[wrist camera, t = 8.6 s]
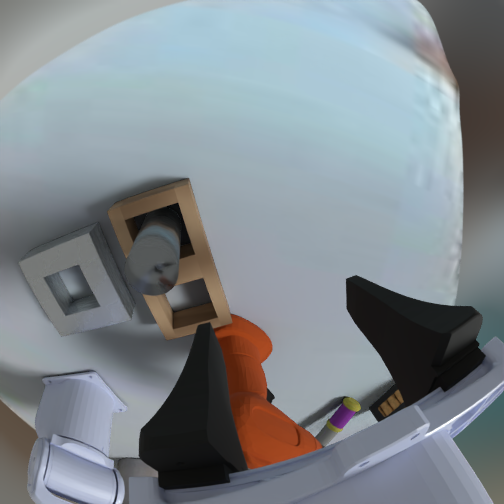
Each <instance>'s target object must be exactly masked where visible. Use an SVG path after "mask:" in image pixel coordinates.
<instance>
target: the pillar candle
mask: <svg viewBox="0 0 504 504" xmlns="http://www.w3.org/2000/svg"><path fill="white" fill-rule="evenodd" d="M117 470H118V471H119V472H120V474H121V476H122V478H123V481H124V487H125V494H124V499H123V503H122V504H129V477H157V478H158V471H156V470H155V469H153V468H151V467H150V466H148V465H147V464H145V463H144V462H143V461H142V460H141V459H134V458H124V459H121V460H119V461H118V469H117Z"/></svg>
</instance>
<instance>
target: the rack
mask: <svg viewBox="0 0 504 504" xmlns="http://www.w3.org/2000/svg"><path fill="white" fill-rule="evenodd" d="M175 203H179V206H180V209H181V213H182V216H183V219H184V222H185V225H186V228H187V231H188V234H189V237H190V240H191V243H189V244H185V245H182V246H180V256H179V275H178V280H177V282H176V284H175V286H176V285H179V284H183V283H186V282H190V281H193V280H197V279H200V278H204V281H205V284H206V287H207V289H208V292H209V295H210V298H211V300H212V302H210V303H207V304H203V305H200V306H196V307H193V308H189V309H185V310H182V311H178V312H174V313H173V311H172V308H171V306H170V304H169V302H168V300H167V298H166V295H165V294H162V295H157V296H149V295H145V294H143V296H144V298H145V300H146V302H147V304H148V306H149V308H150V310H151V312H152V314H153V316H154V318H155V320H156V322H157V324H158V326H159V327H160V329H161V331H162V333H163V335H164V337H165V338H166V340H171V339H175V338H179V337H183V336H187V335H190V334H194V333H196V329H197V326H198V325H200V324H204V323H207V322H210V323H211V325H212V327H213V328H217V327H220V326H224V325H227V324H231V323H233V322H232V318H231V314H230V310H229V306H228V303H227V300H226V297H225V294H224V291H223V288H222V285H221V282H220V279H219V276H218V272H217V269H216V266H215V263H214V260H213V257H212V254H211V250H210V247H209V244H208V241H207V237H206V234H205V231H204V228H203V224H202V221H201V218H200V214H199V211H198V208H197V204H196V201H195V197H194V194H193V190H192V187H191V183H190V180H189V178H187V179H184V180H181V181H178V182H174V183H171V184H168V185H165V186H162V187H159V188H156V189H153V190H150V191H147V192H144V193H141V194H138V195H135V196H132V197H129V198H126V199H124V200H121V201H118V202H116V203H115V204H114V205H113V206H112V207H111V208H110V209H109V210H108V211H107V213H108V215H109V218H110V221H111V223H112V226H113V228H114V231H115V233H116V236H117V238H118V241H119V243H120V246H121V248H122V250H123V253H124V255H125V257H126V259H127V257H128V255H129V252H130V250H131V248H132V246H133V243H134V241H135V239H136V237H137V234H138V232H139V230H138V228H137V225H136V222H135V220H134V217H135V216H138V215H141V214H144V213H147V212H150V211H153V210H156V209H159V208H162V207H165V206H168V205H172V204H175Z"/></svg>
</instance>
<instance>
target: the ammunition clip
mask: <svg viewBox="0 0 504 504" xmlns="http://www.w3.org/2000/svg"><path fill="white" fill-rule="evenodd" d="M404 408H406V405H405V403H404V401H403V398H402V396H401V394H400V392H399V389H398V387H397V385H396V384H395V385H394V386H393V387H392V388H391V389H390V390H388V391H387V392H386V393H385V394H384V395H383V396H382V397H381V398H380V399H378V400H377V401H376V402H375V403H374V404H373V405H371V406H370V407H369V409H370V411H371V412H372V414H373V415H374V417H375V418H376V420H377V421H378V422H380V421H382V420H384V419H386V418H387V417H389V416H391V415H393V414H395V413H397V412H398V411H400V410H402V409H404Z"/></svg>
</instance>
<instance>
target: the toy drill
mask: <svg viewBox="0 0 504 504" xmlns="http://www.w3.org/2000/svg"><path fill="white" fill-rule="evenodd" d="M231 318H232V322H233V323H231V324H227V325H224V326H220V327H217V328H213V330H214V332H215V335H216V337H217V339H218V342H219V344H220V347H221V349H222V353H223V357H224V361H225V365H226V372H227V380H228V389H229V397H230V404H231V410H232V414H233V418H234V422H235V426H236V430H237V433H238V437H239V440H240V444H241V447H242V450H243V454H244V457H245V460H246V463H247V466H248V468H249V469H255V468H259V467H263V466H267V465H271V464H275V463H278V462H282V461H285V460H288V459H292V458H295V457H298V456H301V455H304V454H307V453H310V452H313V451H316V450H318V449H321V448H324V446H323V445H321V443H320V442H319V441H318V440H317V439H316V438H315V437H314V436H313V435H312V434H311V433H310V432H308V431H307V430H305V429H304V428H302V427H300V426H299V425H298V424H296V423H295V422H294V421H293V420H291V419H290V418H289V417H288V416H287V415H285V414H284V413H283V412H282V411H280V410H279V409H278V408H276V407H275V406H274V405H272V404H271V402H272V400H273V399H275V397H274V395H273V394H272V393H271V392H270V390H269V389H268V388H267V383H266V378H265V373H264V371H263V369H262V366H261V363H262V362H264V361H265V360H266V359H267V358H268V356H269V355H270V354H271V352H272V343H271V340H270V338H269V337H268V336H267V335H266V333H265V332H264V331H263V330H261V329H260V328H259V327H258V326H256V325H255V324H253V323H251V322H250V321H248V320H246V319H244V318H242V317H239V316H237V315H233V314H231Z"/></svg>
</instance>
